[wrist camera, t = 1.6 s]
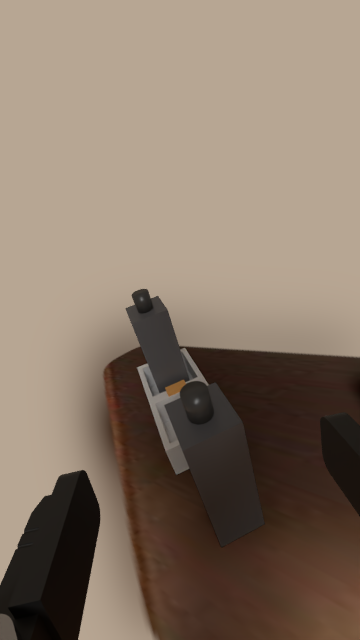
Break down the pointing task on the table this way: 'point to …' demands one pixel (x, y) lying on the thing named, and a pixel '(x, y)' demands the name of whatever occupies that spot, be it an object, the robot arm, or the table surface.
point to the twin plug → (157, 339)
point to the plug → (217, 459)
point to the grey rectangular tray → (160, 412)
